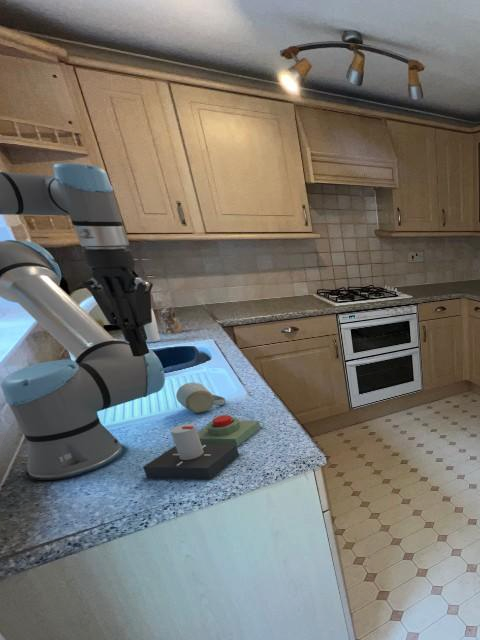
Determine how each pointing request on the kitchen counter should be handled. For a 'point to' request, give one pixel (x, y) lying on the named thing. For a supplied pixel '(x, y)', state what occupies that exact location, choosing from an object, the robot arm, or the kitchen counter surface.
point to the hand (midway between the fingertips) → (141, 354)
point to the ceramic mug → (197, 398)
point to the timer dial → (187, 441)
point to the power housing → (228, 432)
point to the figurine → (170, 322)
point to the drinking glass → (152, 330)
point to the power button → (222, 421)
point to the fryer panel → (192, 463)
